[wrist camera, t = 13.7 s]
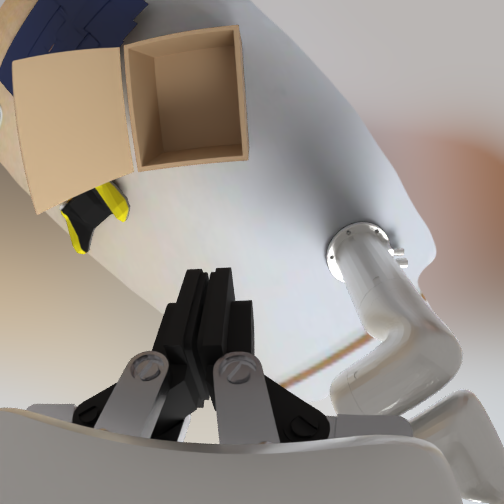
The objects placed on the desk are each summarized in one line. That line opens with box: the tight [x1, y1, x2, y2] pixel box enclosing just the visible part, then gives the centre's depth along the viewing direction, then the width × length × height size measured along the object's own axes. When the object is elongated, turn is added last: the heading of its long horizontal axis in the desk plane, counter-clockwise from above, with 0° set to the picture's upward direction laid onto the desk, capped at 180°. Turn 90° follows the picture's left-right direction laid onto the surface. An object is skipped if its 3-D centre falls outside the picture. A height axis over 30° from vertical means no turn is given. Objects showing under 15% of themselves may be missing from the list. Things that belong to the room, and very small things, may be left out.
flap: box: [12, 47, 134, 215], centre depth 25 cm, size 14×17×1 cm
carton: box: [124, 25, 249, 172], centre depth 35 cm, size 14×17×11 cm
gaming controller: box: [60, 181, 130, 254], centre depth 46 cm, size 15×6×10 cm
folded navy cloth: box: [0, 0, 148, 97], centre depth 32 cm, size 24×30×4 cm
